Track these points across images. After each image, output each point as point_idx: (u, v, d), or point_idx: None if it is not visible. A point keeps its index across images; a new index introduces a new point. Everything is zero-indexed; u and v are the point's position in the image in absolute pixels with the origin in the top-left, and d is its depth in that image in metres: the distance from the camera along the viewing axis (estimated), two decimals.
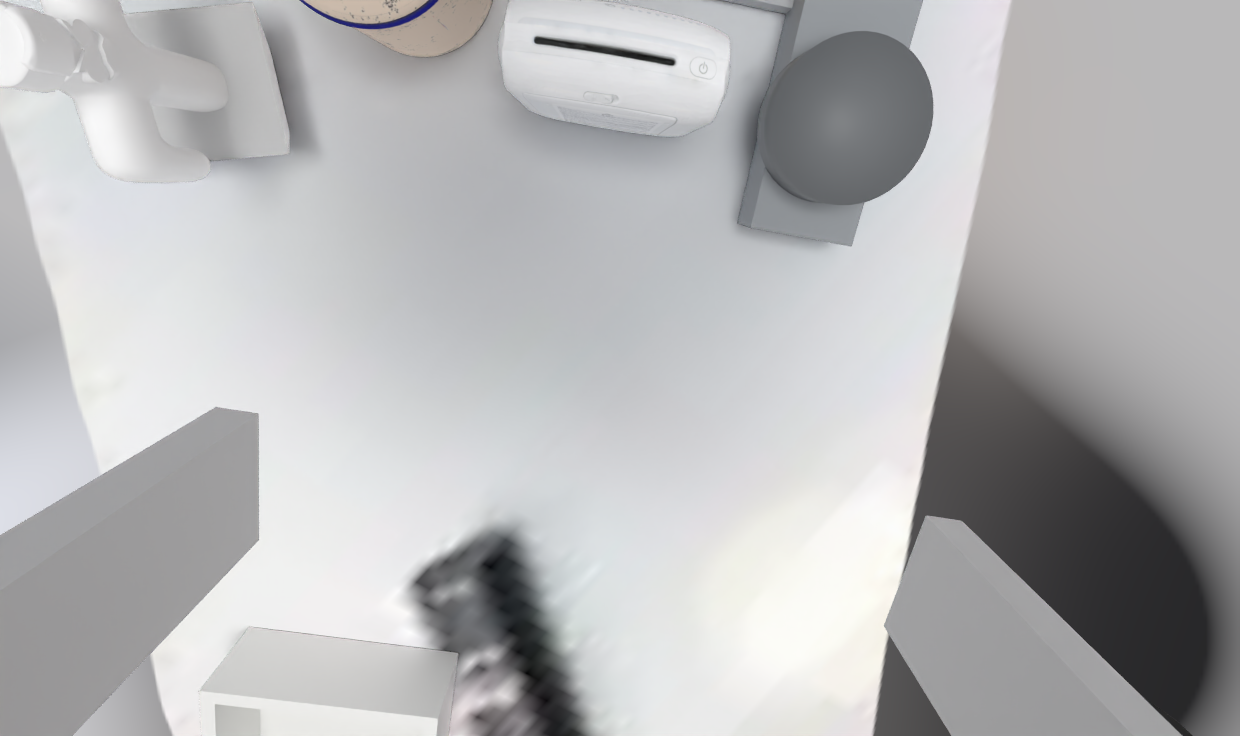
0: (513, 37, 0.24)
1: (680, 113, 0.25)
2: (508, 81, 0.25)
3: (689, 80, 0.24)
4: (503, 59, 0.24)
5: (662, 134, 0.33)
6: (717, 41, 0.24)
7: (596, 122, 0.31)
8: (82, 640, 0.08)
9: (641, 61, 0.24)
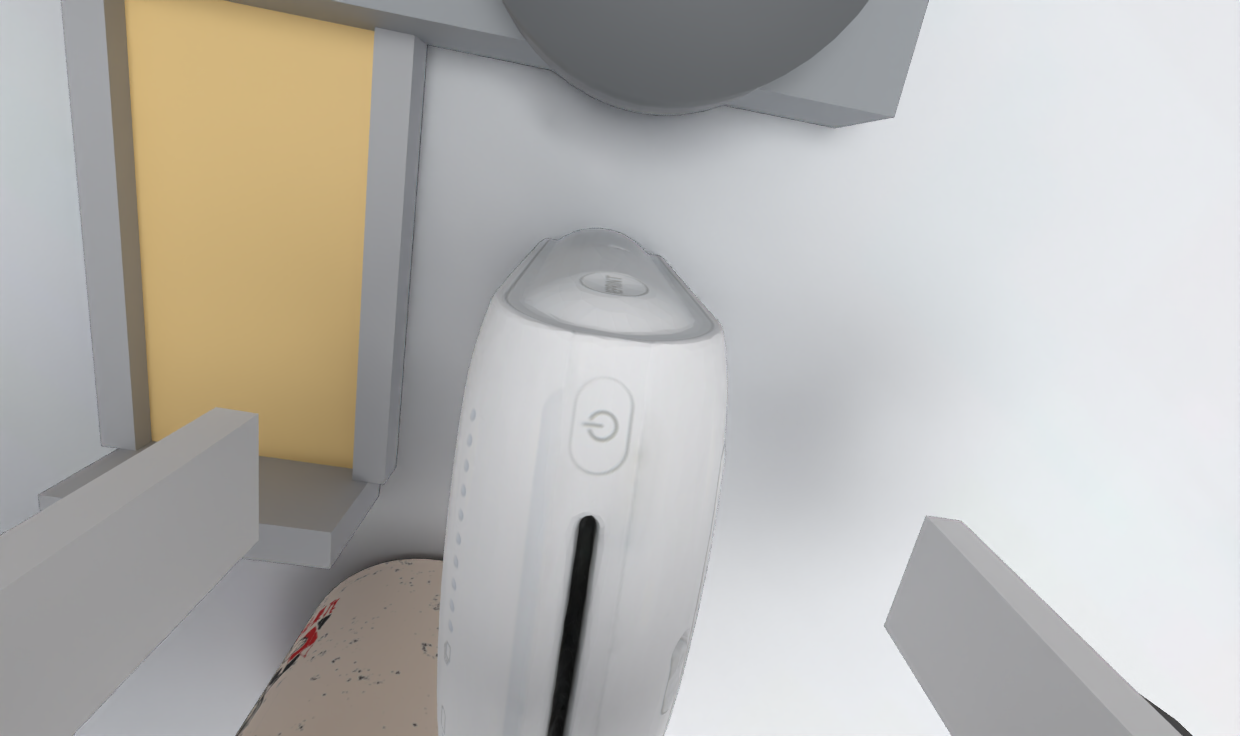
0: None
1: (716, 455, 0.08)
2: None
3: (642, 477, 0.07)
4: None
5: None
6: (517, 373, 0.08)
7: None
8: (82, 640, 0.08)
9: (590, 621, 0.08)
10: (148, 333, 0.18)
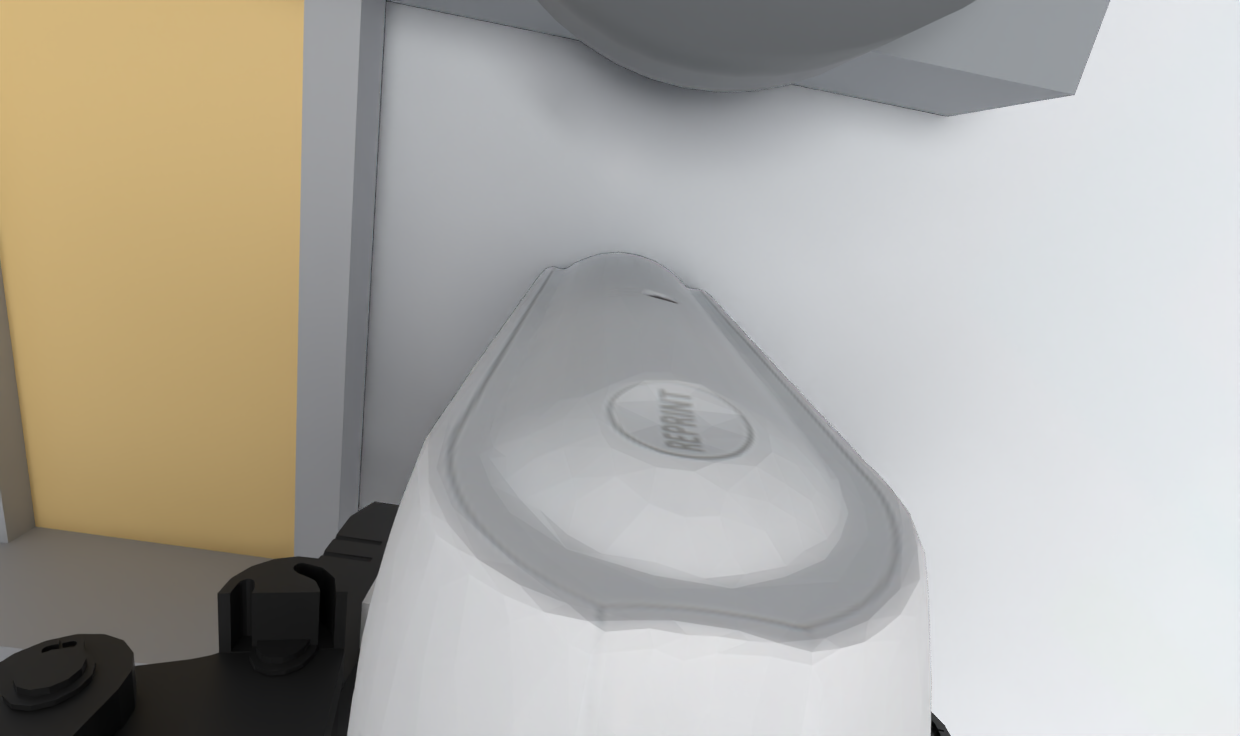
0: None
1: None
2: None
3: None
4: None
5: None
6: (453, 709, 0.03)
7: None
8: None
9: None
10: (21, 390, 0.14)
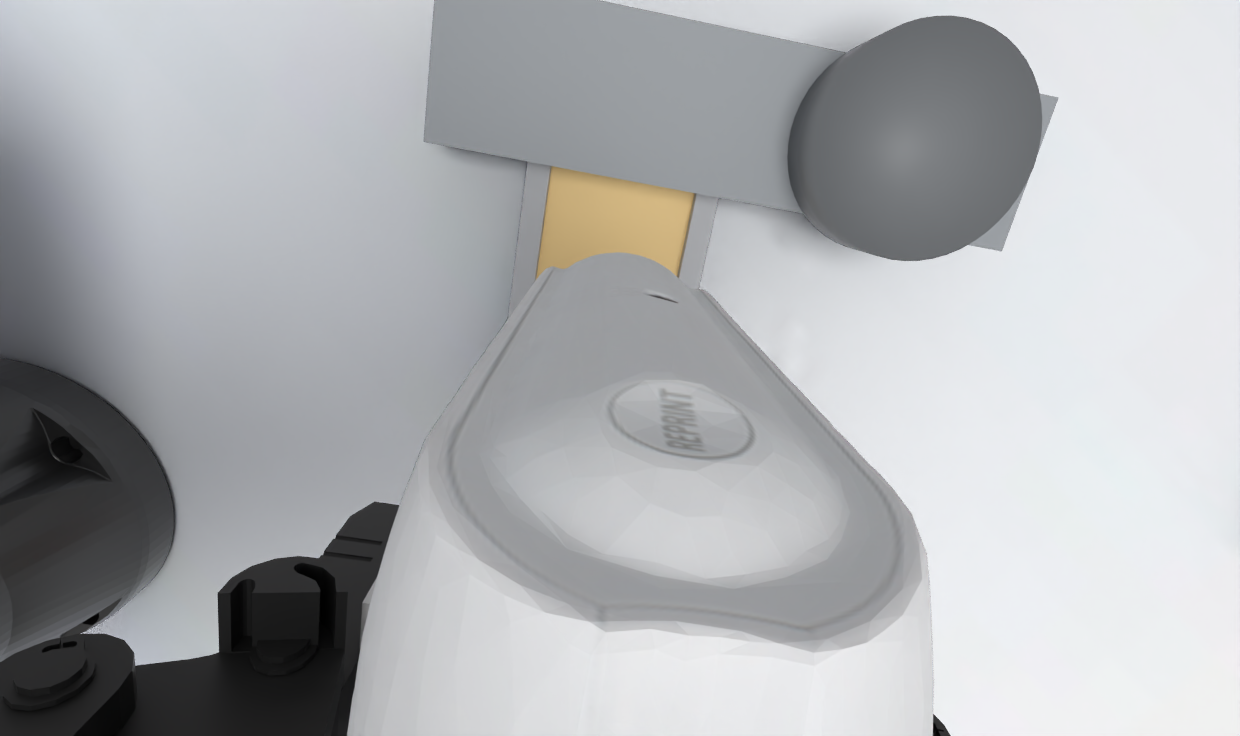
0: None
1: None
2: None
3: None
4: None
5: None
6: (452, 711, 0.03)
7: None
8: None
9: None
10: None
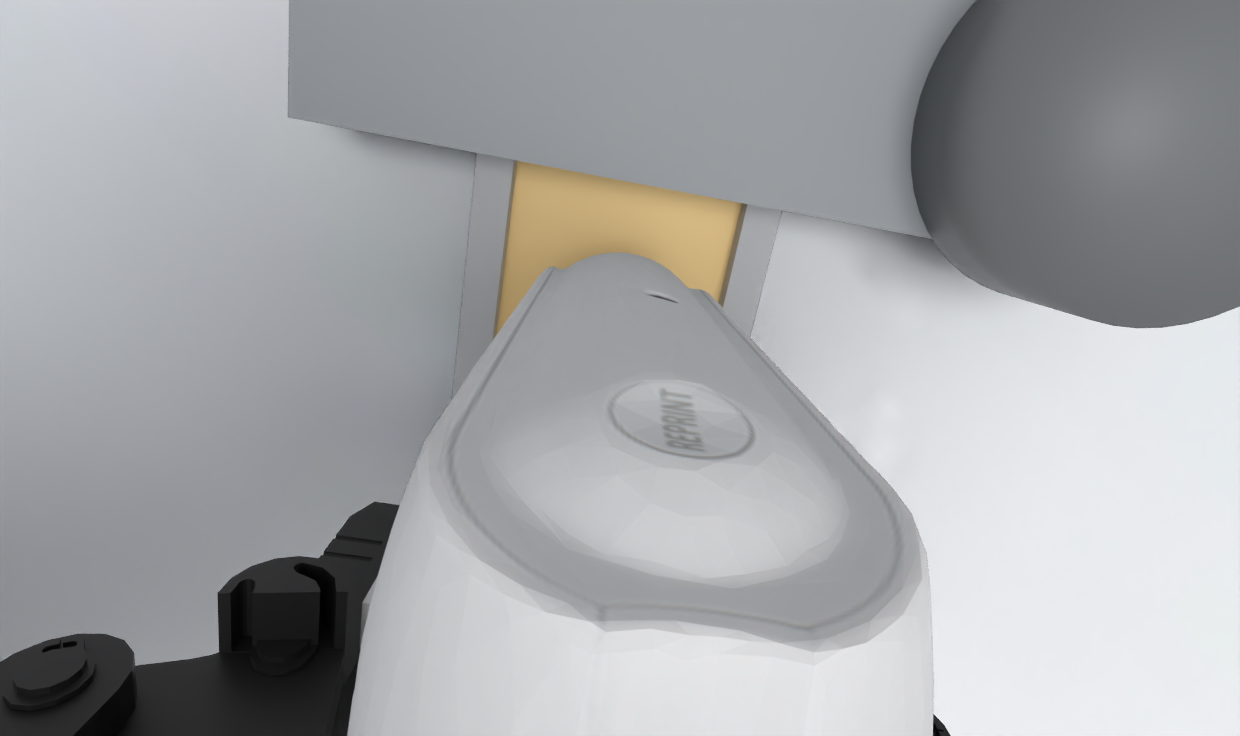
0: None
1: None
2: None
3: None
4: None
5: None
6: (454, 709, 0.03)
7: None
8: None
9: None
10: None
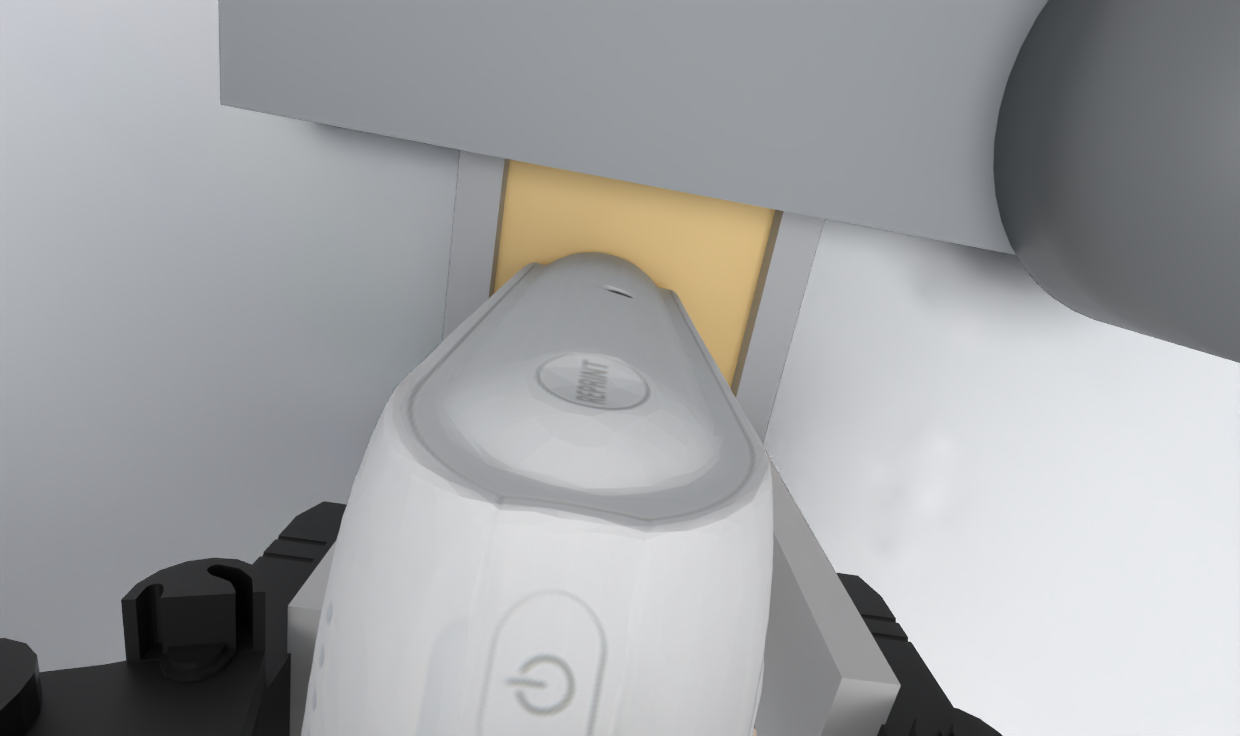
0: None
1: (751, 696, 0.05)
2: None
3: None
4: None
5: None
6: (394, 567, 0.04)
7: None
8: None
9: None
10: None
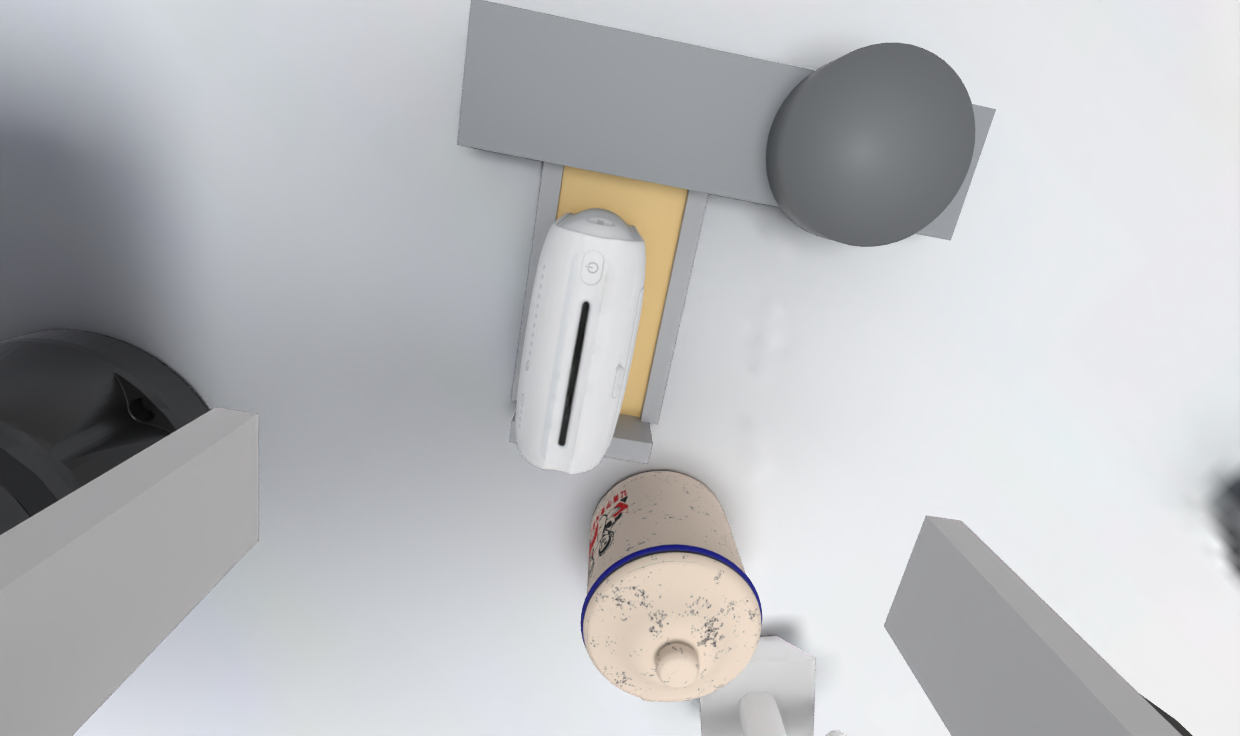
0: (558, 463, 0.23)
1: (636, 288, 0.22)
2: (596, 463, 0.24)
3: (606, 286, 0.21)
4: (577, 472, 0.23)
5: None
6: (563, 248, 0.21)
7: None
8: (81, 640, 0.08)
9: (585, 341, 0.21)
10: None
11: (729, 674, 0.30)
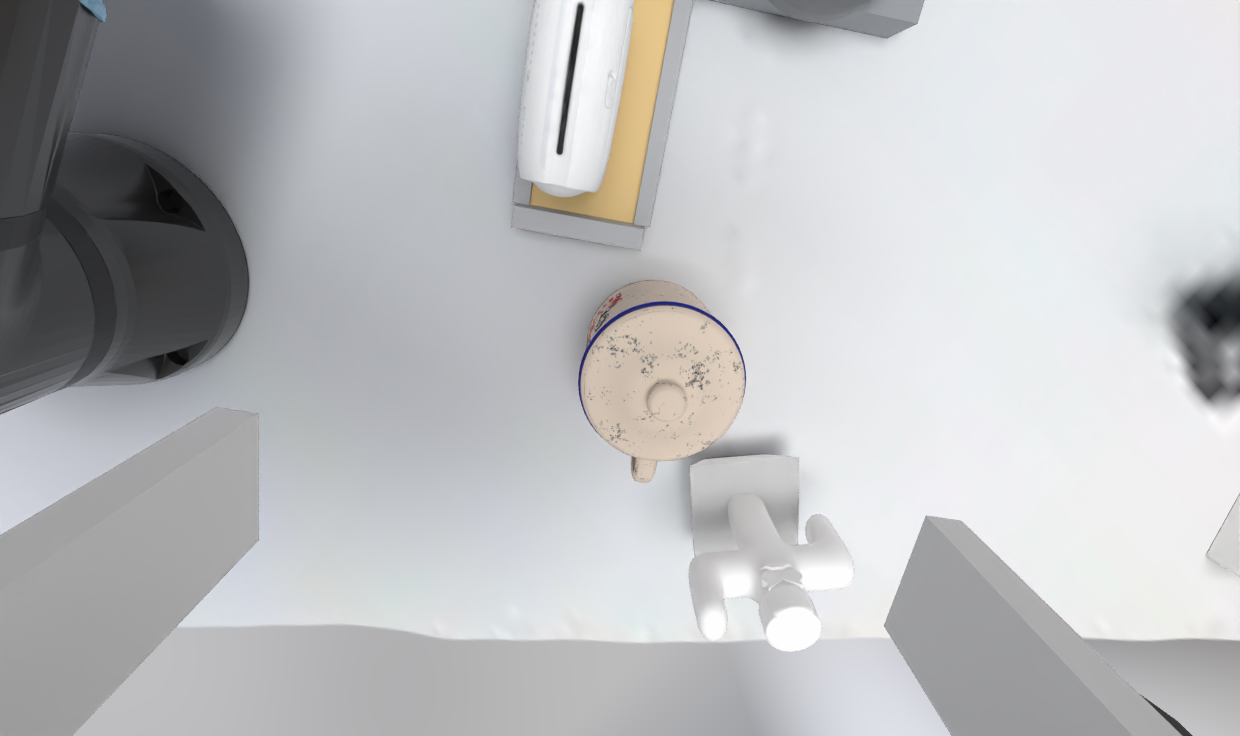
0: (556, 175, 0.26)
1: (626, 0, 0.24)
2: (591, 186, 0.27)
3: None
4: (574, 187, 0.26)
5: None
6: None
7: None
8: (83, 640, 0.08)
9: (580, 40, 0.23)
10: None
11: (715, 429, 0.32)
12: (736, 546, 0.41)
